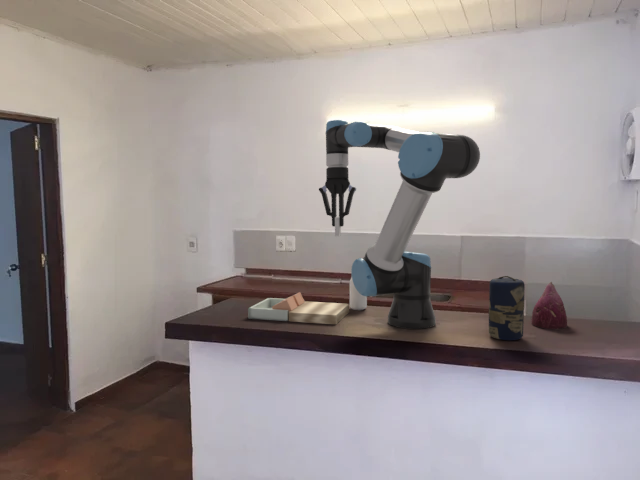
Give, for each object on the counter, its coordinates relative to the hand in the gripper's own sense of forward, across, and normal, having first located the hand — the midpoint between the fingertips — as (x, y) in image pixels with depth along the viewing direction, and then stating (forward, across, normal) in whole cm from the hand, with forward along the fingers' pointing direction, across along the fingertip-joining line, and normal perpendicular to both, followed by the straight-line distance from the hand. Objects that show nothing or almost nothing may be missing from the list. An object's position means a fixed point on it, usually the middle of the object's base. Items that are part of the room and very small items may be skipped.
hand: (337, 236), depth 179 cm
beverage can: (+27, -5, -9) cm, 29 cm away
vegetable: (+28, -68, +1) cm, 73 cm away
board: (+27, +5, +5) cm, 28 cm away
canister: (+28, -53, +19) cm, 63 cm away
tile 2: (+25, +15, +1) cm, 30 cm away
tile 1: (+25, +16, +9) cm, 31 cm away
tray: (+27, +21, +5) cm, 34 cm away
